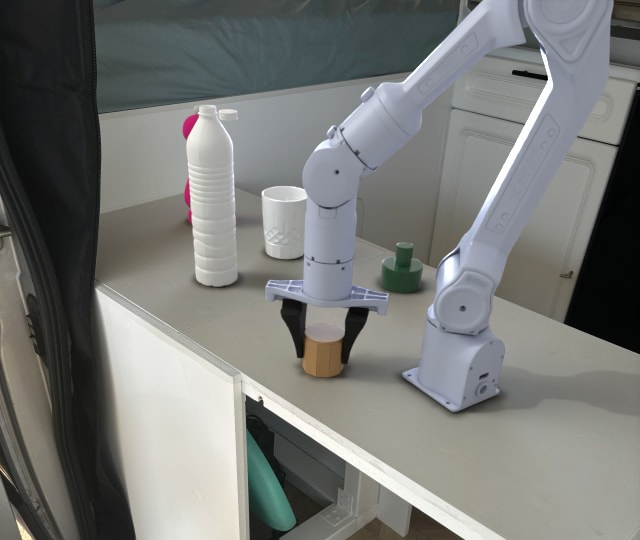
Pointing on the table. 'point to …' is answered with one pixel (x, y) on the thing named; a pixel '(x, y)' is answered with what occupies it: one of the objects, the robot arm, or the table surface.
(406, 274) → the green stepped peg base
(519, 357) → the table surface
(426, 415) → the table surface
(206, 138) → the water bottle
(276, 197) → the white cup
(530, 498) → the table surface
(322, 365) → the wooden drum
